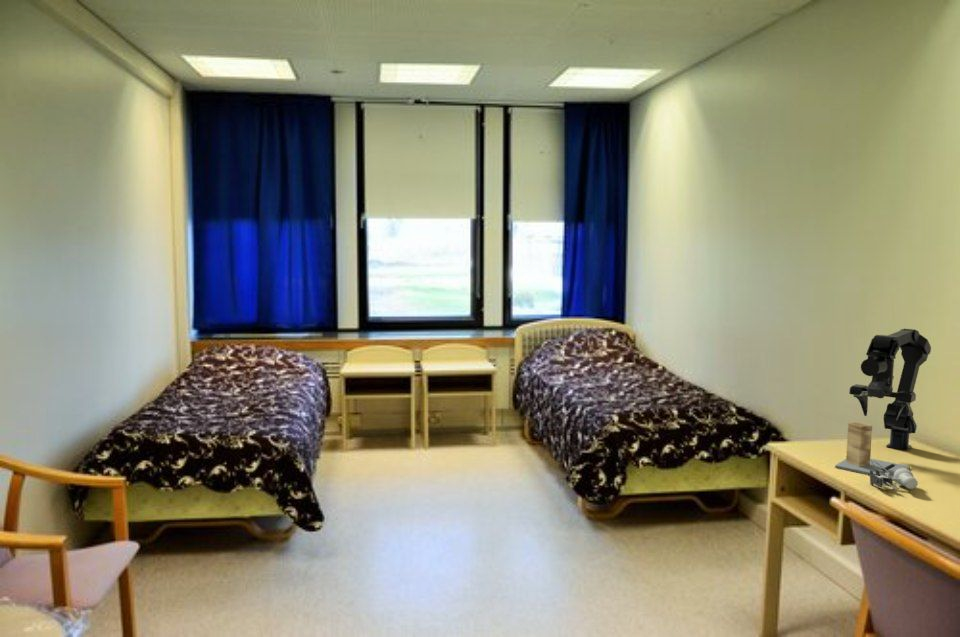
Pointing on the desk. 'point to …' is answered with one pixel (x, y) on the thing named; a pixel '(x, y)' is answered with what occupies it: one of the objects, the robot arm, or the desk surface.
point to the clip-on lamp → (900, 476)
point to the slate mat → (871, 467)
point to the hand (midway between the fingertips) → (880, 418)
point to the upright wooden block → (859, 444)
